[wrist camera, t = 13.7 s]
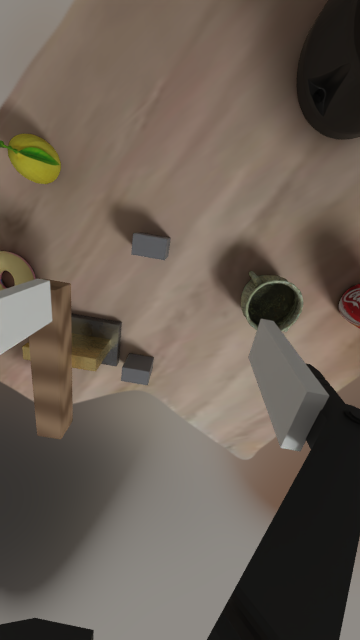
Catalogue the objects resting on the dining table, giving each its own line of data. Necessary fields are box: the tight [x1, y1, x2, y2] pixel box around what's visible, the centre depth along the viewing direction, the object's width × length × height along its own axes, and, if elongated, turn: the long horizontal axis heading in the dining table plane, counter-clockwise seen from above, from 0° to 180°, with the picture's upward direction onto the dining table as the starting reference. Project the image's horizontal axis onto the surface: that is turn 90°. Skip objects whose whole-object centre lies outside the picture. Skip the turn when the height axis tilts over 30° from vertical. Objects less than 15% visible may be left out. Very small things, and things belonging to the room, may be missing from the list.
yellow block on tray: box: [22, 314, 122, 371], centre depth 42 cm, size 9×15×8 cm, turn 81°
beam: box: [28, 279, 73, 439], centre depth 36 cm, size 26×4×4 cm, turn 171°
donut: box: [0, 251, 36, 291], centre depth 41 cm, size 10×5×9 cm
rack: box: [121, 233, 171, 385], centre depth 40 cm, size 26×5×5 cm, turn 171°
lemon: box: [0, 134, 61, 184], centre depth 30 cm, size 7×6×10 cm
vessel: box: [241, 271, 303, 332], centre depth 38 cm, size 12×9×6 cm
